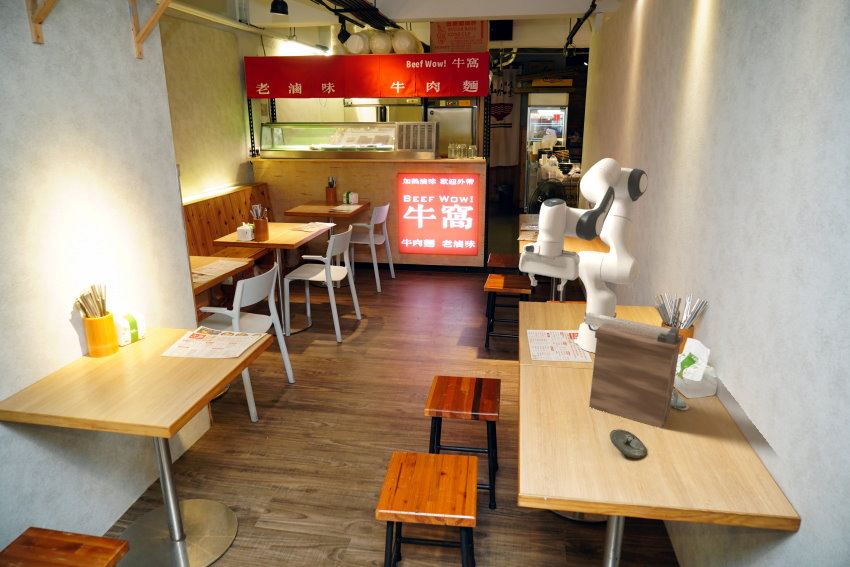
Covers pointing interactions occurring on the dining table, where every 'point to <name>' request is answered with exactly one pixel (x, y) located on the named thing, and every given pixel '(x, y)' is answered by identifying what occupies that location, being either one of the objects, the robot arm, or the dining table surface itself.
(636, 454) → the lid
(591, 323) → the aluminium bar
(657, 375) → the walnut stand
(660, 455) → the dining table surface
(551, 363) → the dining table surface
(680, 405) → the pacifier
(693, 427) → the dining table surface
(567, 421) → the dining table surface
